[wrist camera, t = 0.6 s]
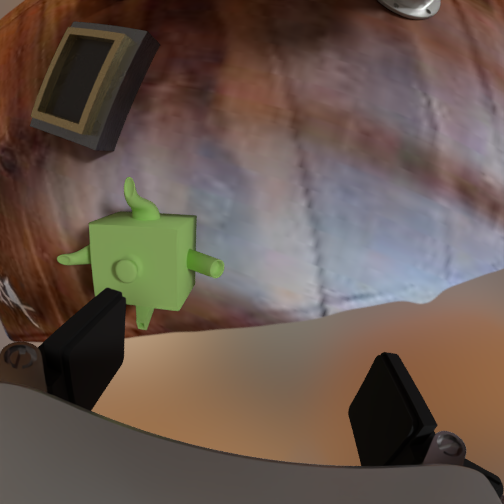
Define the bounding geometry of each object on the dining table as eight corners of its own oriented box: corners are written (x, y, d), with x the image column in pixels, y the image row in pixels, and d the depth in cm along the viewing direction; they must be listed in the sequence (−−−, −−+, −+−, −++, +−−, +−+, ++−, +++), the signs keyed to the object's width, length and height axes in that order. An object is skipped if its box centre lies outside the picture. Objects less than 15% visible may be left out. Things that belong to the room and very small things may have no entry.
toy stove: (85, 31, 32) (60, 16, 25) (160, 44, 33) (141, 25, 26) (45, 125, 36) (16, 123, 30) (113, 150, 37) (86, 149, 31)
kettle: (94, 239, 41) (49, 262, 30) (156, 167, 38) (116, 168, 27) (165, 313, 43) (137, 356, 32) (235, 250, 40) (223, 281, 29)
